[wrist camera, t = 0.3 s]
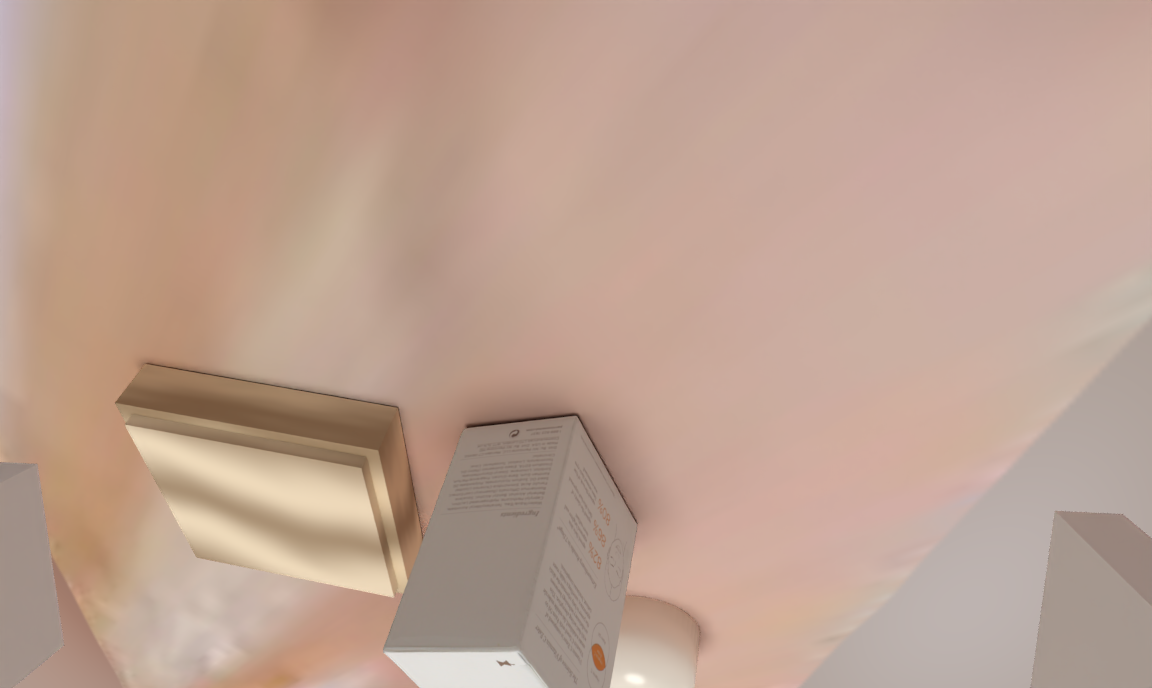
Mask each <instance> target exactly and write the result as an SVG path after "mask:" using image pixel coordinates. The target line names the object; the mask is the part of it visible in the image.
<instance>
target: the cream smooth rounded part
mask: <svg viewBox="0 0 1152 688" xmlns="http://www.w3.org/2000/svg"><path fill="white" fill-rule="evenodd" d="M699 642H700V628H699V626H698V624H697V623H696V621H695V620H694V619H693V618H692V617H691V616H690V615H689V614H687V613H686V612H684V611H683V610H681V609H679V608H677V607H675V606H673V605H671V604H669V603H666V602H663V601H660V600H656V599H652V598H647V597H640V596H625V602H624V608H623V614H622V620H621V626H620V632H619V638H618V644H617V650H616V655H615V662H614V667H613V673H612V679H611V684H610V688H695V679H696V670H697V661H698V651H699Z"/></svg>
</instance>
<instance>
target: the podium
mask: <svg viewBox="0 0 1152 688" xmlns="http://www.w3.org/2000/svg"><path fill="white" fill-rule="evenodd" d="M115 404H116V406H117V408H118V409H119V411H120V413H121V415H122V417H123V419H124V421H125V422H126V423H125V426H126V428H127V430H128V432H129V433H130V435H131V437H132V439H133V441H134V443H135V445H136V446H137V448H138V450H139V452H140V454H141V456H142V458H143V459H144V461H145V463H146V465H147V467H148V469H149V470H150V472H151V474H152V476H153V478H154V480H155V482H156V483H157V485H158V487H159V489H160V491H161V493H162V495H163V496H164V498H165V500H166V502H167V504H168V506H169V507H170V509H171V511H172V513H173V515H174V517H175V519H176V520H177V522H178V524H179V526H180V528H181V530H182V532H183V533H184V535H185V537H186V539H187V541H188V543H189V545H190V546H191V548H192V550H193V552H194V554H195V556H196V557H197V558H202V559H207V560H212V561H217V562H221V563H226V564H231V565H236V566H241V567H246V568H251V569H256V570H261V571H266V572H271V573H276V574H281V575H286V576H290V577H295V578H300V579H305V580H310V581H315V582H320V583H325V584H330V585H335V586H340V587H345V588H350V589H355V590H359V591H364V592H369V593H374V594H379V595H384V596H389V597H395V594H396V592H397V593H402V594H403V593H404V590H405V587H406V584H407V582H408V579H409V576H410V574H411V571H412V568H413V565H414V563H415V560H416V557H417V555H418V552H419V549H420V546H421V544H422V541H423V537H422V532H421V527H420V522H419V516H418V511H417V506H416V500H415V495H414V490H413V485H412V479H411V474H410V469H409V463H408V458H407V453H406V448H405V442H404V437H403V432H402V426H401V421H400V416H399V411H398V408H397V407H391V406H385V405H379V404H374V403H368V402H362V401H356V400H351V399H345V398H339V397H333V396H328V395H322V394H316V393H310V392H305V391H299V390H293V389H287V388H282V387H276V386H270V385H264V384H259V383H253V382H247V381H241V380H236V379H230V378H224V377H218V376H213V375H207V374H201V373H195V372H190V371H184V370H178V369H172V368H167V367H161V366H155V365H149V364H145V365H144V366H143V367H142V368H141V370H140V371H139V372H138V374H137V375H136V376H135V378H134V379H133V380H132V381H131V383H130V384H129V385H128V387H127V388H126V389H125V391H124V392H123V393H122V394H121V396H120V397H119V398H118V400H117V401H116V402H115Z"/></svg>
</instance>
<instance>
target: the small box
mask: <svg viewBox="0 0 1152 688" xmlns="http://www.w3.org/2000/svg"><path fill="white" fill-rule="evenodd" d="M636 532H637V523H636V522H635V520H634V518H633V517H632V515H631V513H630V511H629V509H628V508H627V506H626V504H625V502H624V500H623V499H622V497H621V495H620V493H619V491H618V489H617V488H616V486H615V484H614V482H613V481H612V479H611V477H610V475H609V473H608V471H607V470H606V468H605V466H604V464H603V462H602V460H601V459H600V457H599V455H598V453H597V451H596V450H595V448H594V446H593V444H592V443H591V441H590V439H589V437H588V435H587V433H586V432H585V430H584V428H583V426H582V424H581V423H580V421H579V419H578V417H577V416H568V417H560V418H551V419H542V420H533V421H525V422H516V423H507V424H498V425H490V426H481V427H473V428H466V429H464V430H463V431H462V434H461V436H460V439H459V442H458V445H457V448H456V450H455V453H454V456H453V458H452V461H451V464H450V467H449V469H448V472H447V475H446V478H445V481H444V483H443V486H442V488H441V491H440V494H439V496H438V499H437V502H436V505H435V508H434V511H433V514H432V516H431V519H430V522H429V525H428V527H427V530H426V532H425V535H424V538H423V541H422V544H421V546H420V549H419V552H418V555H417V557H416V560H415V563H414V565H413V568H412V571H411V574H410V576H409V579H408V582H407V584H406V587H405V590H404V593H403V596H402V598H401V601H400V604H399V607H398V610H397V613H396V615H395V618H394V621H393V623H392V626H391V629H390V632H389V635H388V638H387V640H386V643H385V645H384V648H383V652H384V653H385V654H386V655H387V656H388V657H389V658H390V659H391V660H392V661H393V662H394V663H395V664H396V665H398V666H399V668H400V669H401V670H402V671H403V672H404V673H405V674H407V675H408V677H409V678H410V679H412V680H413V681H414V682H415V683H416V684H417V686H419V687H420V688H610V684H611V679H612V673H613V667H614V662H615V655H616V650H617V644H618V638H619V632H620V626H621V620H622V614H623V608H624V602H625V596H626V590H627V584H628V578H629V573H630V567H631V561H632V555H633V549H634V543H635V537H636Z"/></svg>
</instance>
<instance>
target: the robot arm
mask: <svg viewBox="0 0 1152 688" xmlns="http://www.w3.org/2000/svg"><path fill="white" fill-rule="evenodd" d="M63 646H64V640H63V633H62V628H61V620H60V614H59V606H58V600H57V593H56V587H55V580H54V573H53V566H52V559H51V552H50V546H49V539H48V532H47V525H46V519H45V512H44V505H43V499H42V492H41V485H40V478H39V472H38V465H37V464H27V463H6V462H0V688H13V687H14V686H16V685H17V684H18V683H19V682H20V681H22V680H23V679H24V678H25V677H27V676H28V675H29V674H30V673H31V672H33V671H34V670H35V669H36V668H37V667H39V666H40V665H41V664H42V663H43V662H45V661H46V660H47V659H48V658H50V657H51V656H52V655H53V654H54V653H56V652H57V651H58V650H59V649H60V648H62V647H63ZM1030 688H1152V538H1151V537H1149V536H1148V535H1147V534H1146V533H1145V532H1143V531H1142V530H1141V529H1140V528H1139V527H1137V526H1136V525H1135V524H1134V523H1133V522H1132V521H1130V520H1129V519H1128V518H1127V517H1125V516H1124V515H1123V514H1109V513H1087V512H1066V511H1065V512H1064V511H1055V513H1054V520H1053V528H1052V535H1051V542H1050V549H1049V557H1048V564H1047V572H1046V579H1045V586H1044V593H1043V601H1042V607H1041V615H1040V622H1039V629H1038V637H1037V643H1036V651H1035V658H1034V665H1033V672H1032V681H1031V687H1030Z"/></svg>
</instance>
